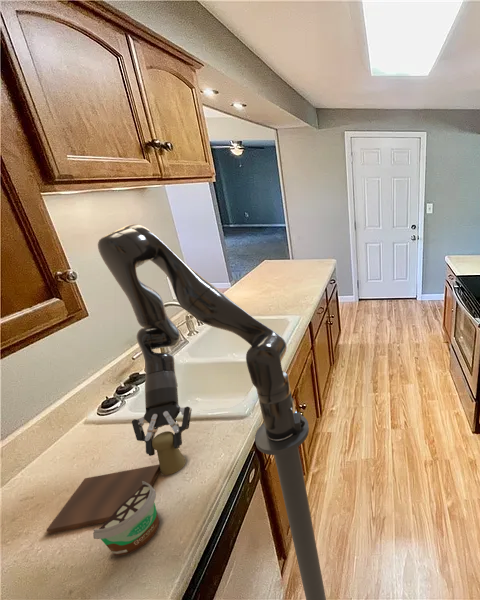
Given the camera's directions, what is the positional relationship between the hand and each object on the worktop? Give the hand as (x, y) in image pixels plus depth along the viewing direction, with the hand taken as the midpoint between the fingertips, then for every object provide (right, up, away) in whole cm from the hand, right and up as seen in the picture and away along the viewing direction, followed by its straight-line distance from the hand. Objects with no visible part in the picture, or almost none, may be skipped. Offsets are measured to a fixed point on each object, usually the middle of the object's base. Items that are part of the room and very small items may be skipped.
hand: (164, 451), depth 89 cm
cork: (-1, -6, +4) cm, 8 cm away
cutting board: (-11, -10, -5) cm, 15 cm away
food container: (+5, -13, -13) cm, 20 cm away
